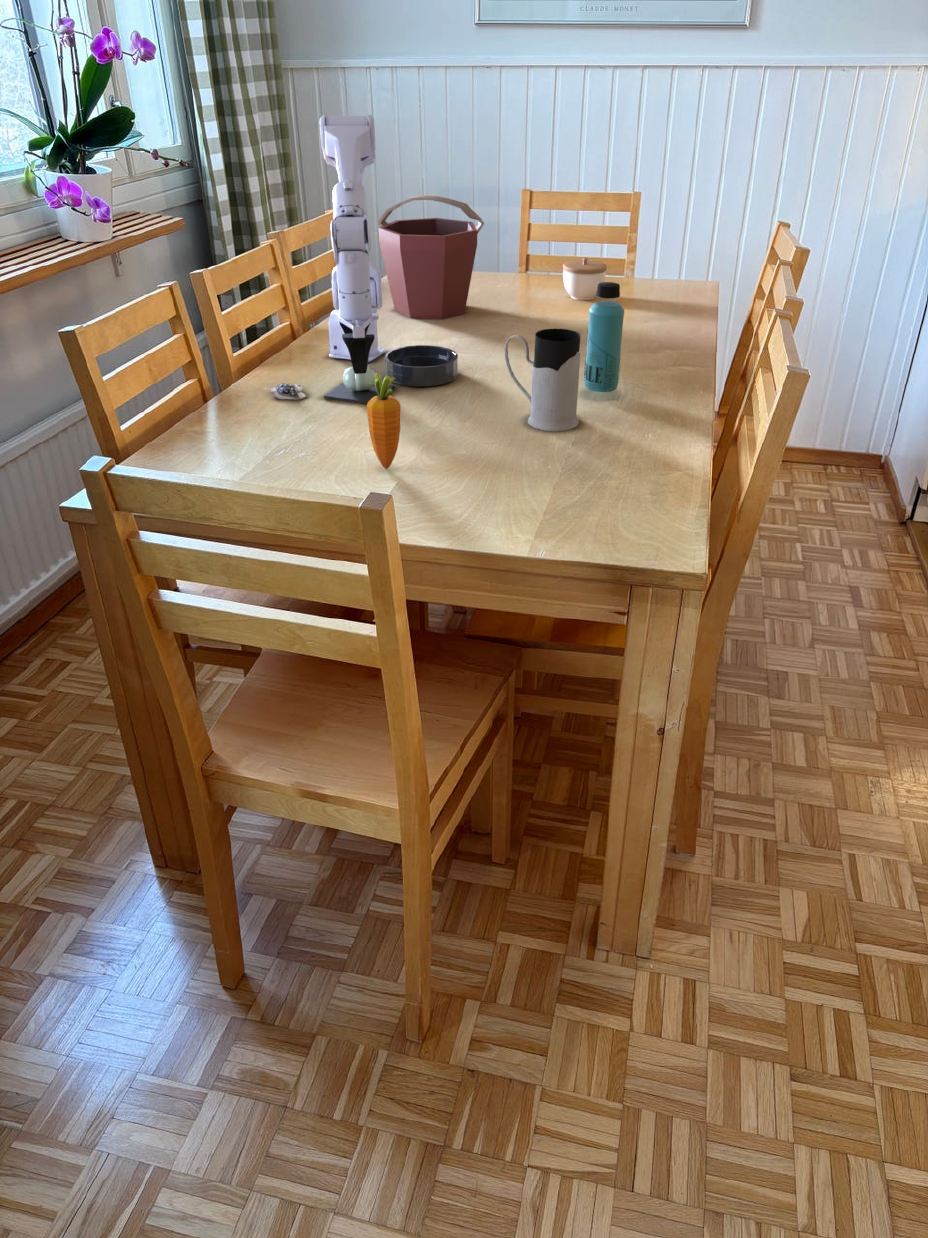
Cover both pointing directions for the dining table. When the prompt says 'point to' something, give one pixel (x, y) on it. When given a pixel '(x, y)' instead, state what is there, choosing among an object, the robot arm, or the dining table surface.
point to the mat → (353, 394)
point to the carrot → (384, 421)
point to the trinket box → (583, 278)
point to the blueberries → (288, 391)
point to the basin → (421, 365)
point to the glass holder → (552, 378)
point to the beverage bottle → (604, 340)
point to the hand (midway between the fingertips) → (358, 366)
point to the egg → (359, 380)
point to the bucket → (429, 261)
